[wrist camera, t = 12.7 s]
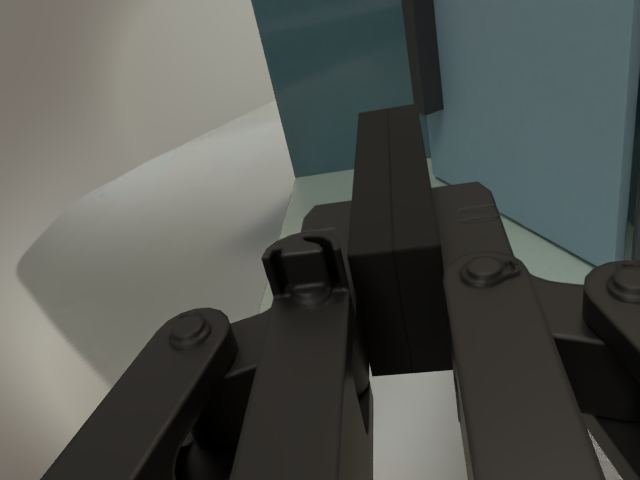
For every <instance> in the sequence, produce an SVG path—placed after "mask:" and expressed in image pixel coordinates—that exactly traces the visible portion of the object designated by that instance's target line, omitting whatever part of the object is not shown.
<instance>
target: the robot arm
mask: <svg viewBox="0 0 640 480" xmlns="http://www.w3.org/2000/svg"><path fill="white" fill-rule="evenodd" d="M262 261H263V265H264V268H265V271H266V275H267V278H268V281H269V284H270V288H271V291H272V294H273V301H272V305H271V308H269V309H268V310H266V311H264V312H262V313H260V314H257V315H255V316H252V317H249V318H246V319H243V320H240V321H237V322H234V323H231V324H230V322H229V319H228V317H227V316H226V315H225V314H224V313H223V312H222V311H220V310H217V309H212V308H199V309H193V310H190V311H186V312H184V313H181V314H179V315H177V316H176V317H174V318H172V319H170V320H169V321H167V322H166V323H165V324H164V325H163V326H162V327H161V328H160V329H159V330H158V331H157V332H156V333H155V334H154V336H153V337H152V338H151V340H150V341H149V342H148V343H147V345H146V346H145V347H144V348H143V350H142V351H141V352H140V353H139V355H138V356H137V357H136V359H135V360H134V361H133V362H132V364H131V365H130V366H129V367H128V369H127V370H126V371H125V373H124V374H123V375H122V376H121V378H120V379H119V380H118V381H117V383H116V384H115V385H114V386H113V388H112V389H111V390H110V392H109V393H108V394H107V395H106V397H105V398H104V399H103V401H102V402H101V403H100V404H99V406H98V407H97V408H96V410H95V411H94V412H93V413H92V414H91V416H90V417H89V418H88V420H87V421H86V422H85V423H84V425H83V426H82V427H81V428H80V430H79V431H78V432H77V433H76V435H75V436H74V437H73V439H72V440H71V441H70V443H69V444H68V445H67V446H66V448H65V449H64V450H63V451H62V453H61V454H60V455H59V456H58V458H57V459H56V460H55V462H54V463H53V464H52V465H51V467H50V468H49V469H48V470H47V472H46V473H45V474H44V475H43V477H42V478H41V479H40V480H373V395H372V390H371V385H370V381H369V362H370V367H371V372H372V376H383V375H395V374H408V373H420V372H432V371H445V370H453V374H454V383H455V392H456V401H457V410H458V419H459V422H460V427H461V433H462V440H463V447H464V454H465V461H466V468H467V475H468V480H606V479H605V476H604V474H603V471H602V468H601V466H600V463H599V460H598V458H597V455H596V452H595V449H594V447H593V444H592V441H591V439H590V436H589V433H588V430H589V432H590V433H591V435H592V436H593V437H594V439H595V440H596V442H597V443H598V445H599V446H600V447H601V449H602V450H603V452H604V453H605V454H606V456H607V457H608V459H609V460H610V462H611V463H612V464H613V466H614V467H615V469H616V470H617V472H618V473H619V474H620V476H621V477H622V479H623V480H640V261H629V260H623V261H615V262H608V263H605V264H603V265H600V266H598V267H595V268H593V269H592V270H591V271H590V272H589V273H588V274H587V275H586V276H585V280H584V285H583V284H572V283H562V282H556V281H549V280H546V279H543V278H539V277H536V276H534V275H532V274H531V273H529V271H528V269H527V267H526V266H525V265H524V263H523V262H522V261H521V260H520V259H518V258H516V257H514V254H513V251H512V248H511V245H510V242H509V240H508V237H507V234H506V231H505V228H504V225H503V223H502V220H501V218H500V214H499V211H498V208H497V207H496V203H495V200H494V197H493V194H492V191H490V190H489V189H487V188H486V187H485V186H483V185H482V184H480V183H479V182H478V181H476V182H469V183H462V184H454V185H447V186H440V187H432V188H431V182H430V176H429V170H428V164H427V158H426V152H425V146H424V141H423V135H422V129H421V123H420V117H419V111H418V105H417V103H416V104H410V105H404V106H398V107H392V108H386V109H379V110H373V111H367V112H361V113H359V115H358V127H357V140H356V152H355V164H354V177H353V189H352V200H350V201H342V202H335V203H328V204H320V205H315V206H314V207H313V208H312V209H311V210H310V212H309V213H308V214H307V215H306V216H305V217H304V218H303V223H302V228H301V233H296V234H292V235H289V236H287V237H285V238H282V239H280V240H278V241H276V242H275V243H274V244H272V245H271V246H270V247H269V248H267V249H266V251H265V253H264V254H263V256H262ZM586 427H587V428H586ZM587 429H588V430H587Z"/></svg>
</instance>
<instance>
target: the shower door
mask: <svg viewBox="0 0 640 480" xmlns="http://www.w3.org/2000/svg"><path fill="white" fill-rule="evenodd" d="M401 3H402V11H403V19H404V27H405V35H406V44H407V52H408V60H409V68H410V76H411V84H412V92H413V101H414V104H416V103H417V105H418V111H419V114H421V115H424V116H427V125H428V134H429V142H430V151H431V160H432V169H433V175H435V176H436V177H438V178H440V179H442V180H444V181H445V182H447V183H449V184H451V185H454V184H462V183H469V182H476V181H478V182H479V183H480V184H482V185H483V186H485V187H486V188H487V189H489V190H490V191H492V194H493V197H494V200H495V203H496V207H497V208H498V211H499V212H501V213H502V214H504V215H506V216H508V217H510V218H511V219H513V220H515V221H517V222H519V223H520V224H522V225H524V226H526V227H527V228H529V229H531V230H533V231H535V232H536V233H538V234H540V235H542V236H544V237H545V238H547V239H549V240H551V241H552V242H554V243H556V244H558V245H560V246H561V247H563V248H565V249H567V250H569V251H570V252H572V253H574V254H576V255H577V256H579V257H581V258H583V259H585V260H586V261H588V262H590V263H592V264H593V265H595V266H597V267H598V266H600V265H603V264H605V263H608V262H615V261H623V260H624V253H625V241H626V229H627V217H628V205H629V193H630V181H631V169H632V157H633V145H634V133H635V121H636V109H637V97H638V85H639V73H640V0H401Z"/></svg>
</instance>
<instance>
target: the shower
mask: <svg viewBox="0 0 640 480" xmlns="http://www.w3.org/2000/svg"><path fill="white" fill-rule="evenodd" d="M251 2H252V6H253V10H254V14H255V18H256V22H257V26H258V29H259V34H260V38H261V42H262V46H263V50H264V54H265V58H266V62H267V66H268V70H269V74H270V78H271V82H272V86H273V90H274V94H275V98H276V102H277V106H278V110H279V114H280V118H281V122H282V126H283V130H284V134H285V138H286V142H287V146H288V150H289V154H290V158H291V162H292V166H293V170H294V174H295V177H296V179H295V183H294V186H293V190H292V193H291V197H290V201H289V204H288V208H287V212H286V215H285V219H284V222H283V226H282V230H281V233H280V237H279V240H280V239H282V238H285V237H287V236H289V235H292V234H296V233H301V228H302V223H303V218H304V217H305V216H306V215H307V214H308V213H309V212H310V210H311V209H312V208H313V207H314V206H315V205H320V204H328V203H335V202H342V201H350V200H352V189H353V177H354V164H355V152H356V140H357V127H358V115H359V113H361V112H367V111H373V110H379V109H386V108H392V107H398V106H404V105H410V104H414V101H413V92H412V84H411V76H410V68H409V60H408V52H407V44H406V35H405V27H404V19H403V11H402V3H401V0H251ZM419 117H420V123H421V129H422V135H423V141H424V146H425V152H426V158H427V164H428V170H429V176H430V182H431V188H432V187H440V186H447V185H451V184H449V183H447V182H445V181H444V180H442V179H440V178H438V177H436V176H435V175H433V169H432V160H431V151H430V142H429V134H428V125H427V116H424V115H421V114H419ZM499 214H500V218H501V220H502V223H503V225H504V228H505V231H506V234H507V237H508V240H509V242H510V245H511V248H512V251H513V254H514V257H516V258H518V259H520V260H521V261H522V262H523V263H524V265H525V266H526V267H527V269H528V271H529V273H531V274H532V275H534V276H536V277H539V278H543V279H546V280H549V281H556V282H562V283H572V284H583V285H584V280H585V276H586V275H587V274H588V273H589V272H590V271H591V270H592V269H593V268H595V267H597V266H595V265H593V264H592V263H590V262H588V261H586V260H585V259H583V258H581V257H579V256H577V255H576V254H574V253H572V252H570V251H569V250H567V249H565V248H563V247H561V246H560V245H558V244H556V243H554V242H552V241H551V240H549V239H547V238H545V237H544V236H542V235H540V234H538V233H536V232H535V231H533V230H531V229H529V228H527V227H526V226H524V225H522V224H520V223H519V222H517V221H515V220H513V219H511V218H510V217H508V216H506V215H504V214H502V213H501V212H499ZM624 260H629V261H640V73H639V85H638V97H637V109H636V121H635V133H634V145H633V157H632V169H631V181H630V193H629V205H628V217H627V229H626V241H625V253H624ZM272 301H273V294H272V291H271V288H270V284H269V281H268V280H267V284H266V287H265V291H264V295H263V298H262V302H261V306H260V309H259V313H258V314H260V313H262V312H264V311H266V310H268V309H269V308H271V305H272Z"/></svg>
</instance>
